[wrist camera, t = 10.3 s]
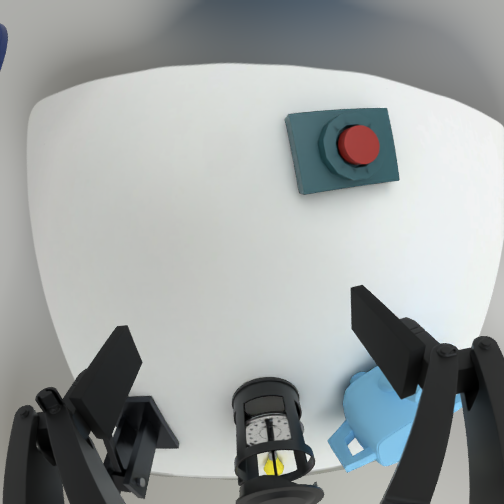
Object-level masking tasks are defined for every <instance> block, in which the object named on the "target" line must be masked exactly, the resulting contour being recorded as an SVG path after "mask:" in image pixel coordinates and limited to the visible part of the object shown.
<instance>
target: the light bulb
mask: <svg viewBox="0 0 504 504" xmlns="http://www.w3.org/2000/svg"><path fill="white" fill-rule="evenodd" d="M275 459H276V466H277V472H278V476H279V475H280V474H282V472H283V469H284V465H283V464H282V463H281V462H280V461H279V459H278V457H277V454H276V453H275ZM264 471H265V472H266V474H267V475H274V468H273V461H272V453H269V458H268V461H267V463H266V464H265V467H264Z"/></svg>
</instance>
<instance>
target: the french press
mask: <svg viewBox="0 0 504 504" xmlns="http://www.w3.org/2000/svg"><path fill="white" fill-rule="evenodd" d="M265 396H280V397H283V402H284V407H285V410H284V411H283V412H279V411H275V412H264V413H260V414H257V415H254V416H251V415H249V414H248V413H246V412H245V403H247V402H248V401H250V400H253V399H256V398H260V397H265ZM232 407H233V409H234V422H235V424H236V438H237V456H236V458H235V462H234V465H235V474H236V475H237V476H238V485H239V486H241V487H240V491H239V492H240V497H239V498H238V499H237V500H236V504H317V503H318V502H319V501H321V500H322V498H323V497H324V492H323V490H322V489H321V488H320V487H317V482H315V483H314V484H313V485H306V484H296V483H294V482H291V481H293V480H296V479H298V478H301V477H302V476H304V475H306V474H307V473H308V472H310V471H311V470H312V468H313V467H314V465H315V458H314V455H313V451H312V449H311V448H310V447H309V446H308V445H306V444H305V441H304V437H303V432H304V426H303V424H302V422H301V421H300V418H301V413H302V411H301V407H300V403H299V394H298V391H297V389H296V388H295V386H294V385H292V384H291V383H290V382H288V381H286V380H283V379H280V378H274V377H266V378H258V379H255V380H252V381H249V382H247V383H245V384H244V385H242V386H241V387H240V388H238V389H237V391H236V392H235V393H234V396H233V398H232ZM277 450H293V451H294V456H295V460H296V465H297V470H296V471H293V472H291V473H288V474H284V475H279V476H278V472H277V466H276V459H275V452H274V451H277ZM270 451H271V453H272V461H273V468H274V475H263V476H259V471H258V460H257V454H260V453H264V452H270ZM305 453H306V454H308V455H310V456H311V458H310V460H309V461H308V462H307V459H306V455H305Z"/></svg>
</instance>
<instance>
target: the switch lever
mask: <svg viewBox="0 0 504 504" xmlns="http://www.w3.org/2000/svg"><path fill="white" fill-rule="evenodd" d="M103 441H104V444H105V447H106V449H107V452H108V455H109V458H110V460H111V463H112V465H113V468H114V470H115V471H114V472H113V473H112V474H111V475H110V476H111V478H112V480H113V483H114V485H115V487H116V488H117V490H118V491H124V492H131V491H130V490H129V489H128V488H127V487H126V486H124V485H123V481H124V477H125V474H126V470H127V469H124V467H123V465H122V462H121V459H120V457H119V454H118V451H117V449H116V446H115V443H114V440H113V437H112V435H111V438H110V440H106V439H103Z"/></svg>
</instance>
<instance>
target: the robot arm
mask: <svg viewBox="0 0 504 504" xmlns="http://www.w3.org/2000/svg"><path fill="white" fill-rule="evenodd" d="M351 324H352V330H353V331H354V333H355V334H356V336H357V337H358V338H359V340H360V341H361V343H362V344H363V345H364V347H365V348H366V350H367V351H368V352H369V354H370V355H371V357H372V358H373V360H374V361H375V362H376V364H377V365H378V367H379V368H380V370H381V371H382V373H383V374H384V375H385V377H386V378H387V380H388V381H389V383H390V384H391V386H392V387H393V389H394V390H395V392H396V393H397V395H398V396H399V398H400V399H401V400H402V399H404V398H407V397H409V396H412V395H414V394H416V390H417V386H418V385H419V386H420V388H421V389H422V392H421V396H420V399H419V403H418V407H417V410H416V414H415V417H414V421H413V424H412V427H411V430H410V433H409V436H408V439H407V442H406V444H405V447H404V450H403V452H402V455H401V458H400V460H399V463H398V465H397V468H396V470H395V472H394V475H393V477H392V479H391V481H390V483H389V486H388V488H387V490H386V492H385V494H384V496H383V498H382V500H381V502H380V504H430V502H431V499H432V496H433V493H434V490H435V487H436V484H437V481H438V477H439V474H440V471H441V467H442V464H443V459H444V456H445V452H446V448H447V443H448V439H449V434H450V429H451V423H452V418H453V412H454V406H455V398H456V394H460V397H461V402H462V408H463V414H464V421H465V428H466V436H467V446H468V458H469V477H470V478H469V479H470V498H469V504H504V357H503V355H502V353H501V350H500V348H499V346H498V344H497V342H496V341H495V340H494V339H492V338H490V337H487V336H480V337H477V338H476V339H474V341H473V343H472V347H471V348H467V349H461V350H458V349H457V348H456V347H455V346H453V345H452V344H447V343H442V344H440V343H439V342H437V341H436V340H435V339H434V338H433V337H432V336H431V335H430V334H429V333H428V332H427V331H425V330H424V329H423V328H422V327H420V325H419V324H418V323H417V322H416V321H414V320H412V319H409V318H407V317H405V318H402V319H399V318H398V317H397V316H395V315H394V314H393V313H392V312H391V311H390V310H389V309H388V308H387V307H386V306H385V305H384V304H383V303H382V302H381V301H380V300H378V299H377V298H376V297H375V296H374V295H373V294H372V293H371V292H370V291H369V290H368V289H366V288H365V287H364V286H363V285H360V286H356V287H352V288H351ZM141 365H142V360H141V358H140V355H139V353H138V351H137V348H136V346H135V343H134V341H133V338H132V336H131V333H130V331H129V328H128V325H125V326H117V327H116V328H115V330H114V331H113V332H112V334H111V335H110V337H109V338H108V339H107V341H106V342H105V344H104V345H103V346H102V348H101V349H100V351H99V352H98V354H97V355H96V357H95V358H94V359H93V361H92V362H91V364H90V365H89V367H88V368H87V369H85V370H84V371H82V372H81V373H80V374H79V375H78V377H77V378H76V380H75V381H74V383H73V384H72V386H71V387H70V389H69V390H68V392H67V393H66V395H65V396H64V398H63V399H62V398H61V396H60V394H59V393H58V391H57V390H56V388H53V387H48V388H45V389H43V390H42V391H40V392H39V393H38V394H37V396H36V399H35V400H36V402H37V403H38V405H39V406H40V408H41V409H42V411H43V412H38V413H36V412H35V410H34V409H33V407H32V406H30V405H25V406H22V407H21V408H19V409H18V411H17V412H16V414H15V417H14V421H13V426H12V430H11V435H10V441H9V446H8V452H7V459H6V467H5V475H4V487H3V504H64V497H63V486H64V489H65V492H66V495H67V497H68V500H69V502H70V504H126V503H125V502H124V500H123V498H122V497H121V495H120V493H119V492H118V490H117V488H116V487H115V485H114V483H113V481H112V479H111V478H110V476H109V474H108V472H107V470H106V468H105V466H104V464H103V462H102V460H101V458H100V456H99V454H98V452H97V450H96V448H95V446H94V443H93V442H92V440H91V438H90V437H89V434H90V431H92V432H93V434H94V435H95V436H96V438H98V439H106V440H110V438H111V435H112V433H113V430H114V428H115V425H116V423H117V420H118V418H119V416H120V413H121V411H122V408H123V406H124V404H125V401H126V399H127V397H128V394H129V392H130V390H131V387H132V385H133V383H134V380H135V378H136V376H137V374H138V371H139V369H140V367H141ZM36 445H37V446H36ZM62 484H63V485H62Z"/></svg>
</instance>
